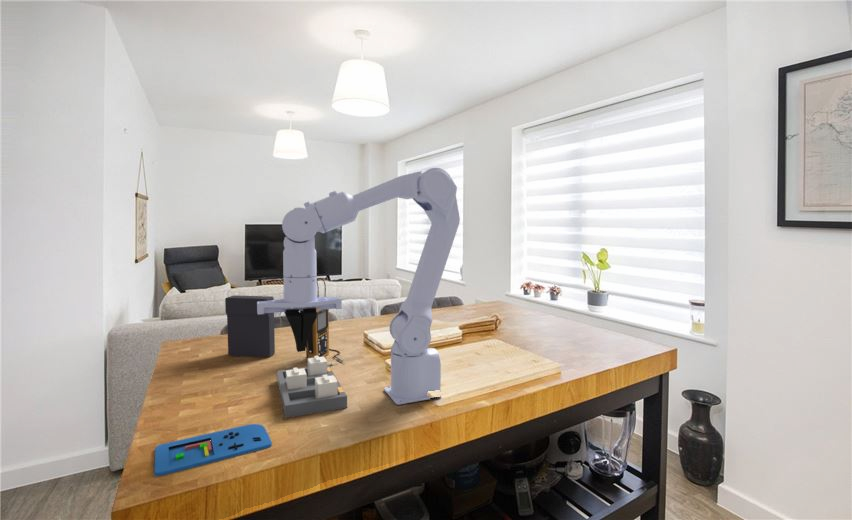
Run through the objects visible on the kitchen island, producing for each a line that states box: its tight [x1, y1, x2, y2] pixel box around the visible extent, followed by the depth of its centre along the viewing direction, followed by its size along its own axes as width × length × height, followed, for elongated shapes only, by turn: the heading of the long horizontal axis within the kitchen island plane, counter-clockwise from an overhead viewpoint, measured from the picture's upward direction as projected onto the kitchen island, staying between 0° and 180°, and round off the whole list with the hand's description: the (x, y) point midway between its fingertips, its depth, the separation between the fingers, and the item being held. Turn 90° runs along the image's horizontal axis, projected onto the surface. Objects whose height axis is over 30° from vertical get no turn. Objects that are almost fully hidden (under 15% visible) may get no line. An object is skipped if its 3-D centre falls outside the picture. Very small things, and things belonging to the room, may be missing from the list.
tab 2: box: [307, 356, 328, 376], centre depth 89 cm, size 4×4×4 cm
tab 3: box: [315, 374, 339, 398], centre depth 78 cm, size 4×4×4 cm
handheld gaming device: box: [153, 423, 273, 477], centre depth 62 cm, size 8×1×15 cm
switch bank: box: [276, 365, 348, 419], centre depth 82 cm, size 11×18×2 cm, turn 24°
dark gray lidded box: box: [224, 295, 276, 358], centre depth 105 cm, size 11×4×15 cm, turn 84°
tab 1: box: [286, 366, 307, 390], centre depth 81 cm, size 4×4×4 cm
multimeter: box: [305, 277, 347, 367], centre depth 102 cm, size 15×10×20 cm
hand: (300, 349), depth 76 cm, fingers closed
